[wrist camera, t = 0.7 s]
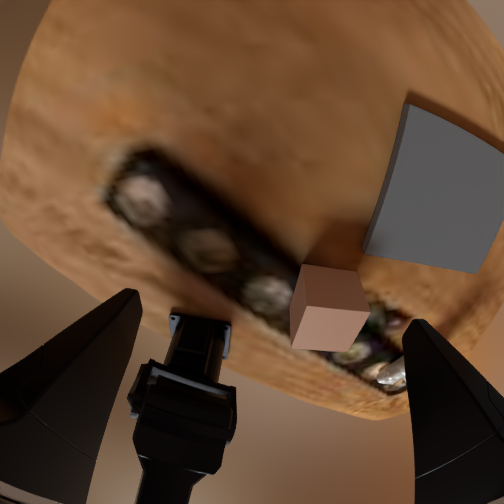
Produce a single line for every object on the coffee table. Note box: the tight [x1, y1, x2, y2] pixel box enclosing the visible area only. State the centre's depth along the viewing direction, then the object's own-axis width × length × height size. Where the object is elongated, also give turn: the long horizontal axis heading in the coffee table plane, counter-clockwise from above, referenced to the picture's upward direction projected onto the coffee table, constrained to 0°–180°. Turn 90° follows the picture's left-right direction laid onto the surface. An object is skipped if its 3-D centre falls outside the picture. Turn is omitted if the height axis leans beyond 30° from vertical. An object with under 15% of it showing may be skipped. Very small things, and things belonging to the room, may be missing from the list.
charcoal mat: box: [362, 103, 504, 274], centre depth 17 cm, size 12×14×1 cm
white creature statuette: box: [377, 356, 406, 384], centre depth 25 cm, size 10×9×12 cm
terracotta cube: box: [290, 264, 370, 352], centre depth 22 cm, size 5×5×5 cm
